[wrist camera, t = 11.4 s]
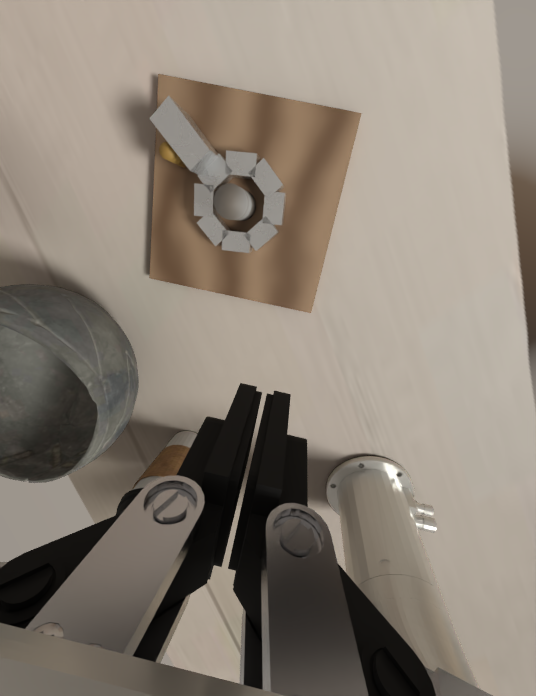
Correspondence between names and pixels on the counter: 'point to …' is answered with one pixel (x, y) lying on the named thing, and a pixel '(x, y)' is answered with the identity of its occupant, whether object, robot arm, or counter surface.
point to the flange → (221, 179)
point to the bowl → (60, 382)
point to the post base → (251, 193)
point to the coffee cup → (162, 465)
